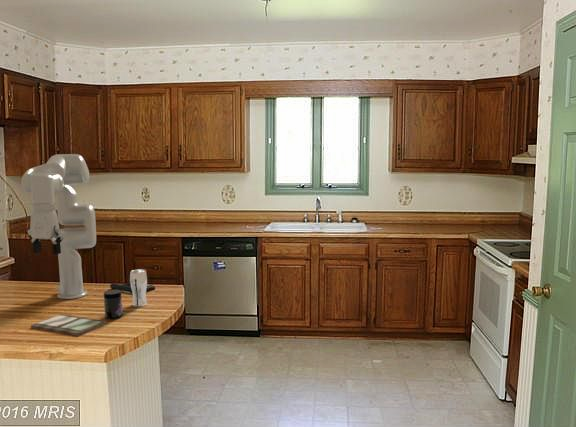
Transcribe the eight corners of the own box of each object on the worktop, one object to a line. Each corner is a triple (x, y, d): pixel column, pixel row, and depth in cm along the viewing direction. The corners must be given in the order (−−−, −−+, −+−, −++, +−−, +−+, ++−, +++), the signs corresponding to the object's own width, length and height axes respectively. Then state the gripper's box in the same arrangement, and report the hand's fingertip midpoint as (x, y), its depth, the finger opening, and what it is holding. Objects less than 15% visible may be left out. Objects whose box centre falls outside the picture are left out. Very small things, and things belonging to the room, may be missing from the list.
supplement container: (114, 320, 192) (113, 295, 190) (101, 318, 194) (99, 293, 193) (126, 315, 198) (124, 290, 196) (113, 313, 200) (111, 289, 199)
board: (31, 327, 185) (30, 324, 185) (61, 316, 198) (60, 313, 197) (79, 336, 176) (78, 332, 175) (107, 323, 188) (106, 320, 188)
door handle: (133, 278, 249) (107, 283, 236) (161, 283, 239) (136, 289, 225) (134, 284, 250) (107, 290, 236) (161, 289, 239) (136, 296, 226)
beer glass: (149, 301, 215) (148, 268, 214) (145, 306, 208) (144, 272, 207) (134, 302, 215) (132, 269, 213) (129, 307, 208) (127, 273, 206)
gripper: (18, 208, 180) (21, 253, 182) (52, 209, 173) (56, 256, 175) (35, 206, 187) (38, 250, 189) (69, 207, 180) (72, 252, 182)
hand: (47, 253), depth 182 cm, fingers open, 9 cm apart
